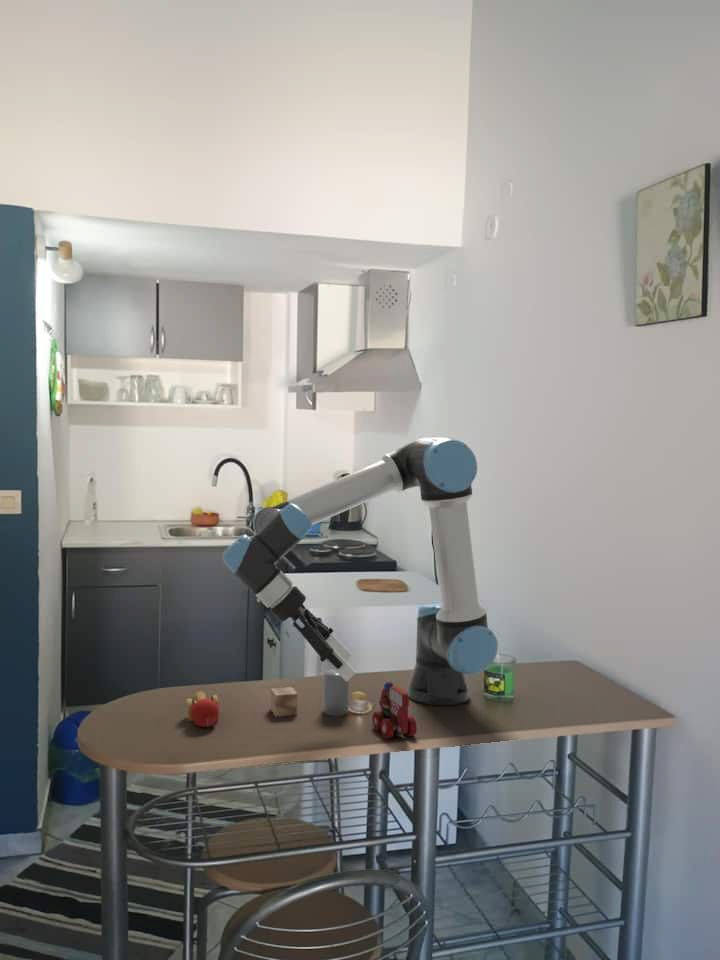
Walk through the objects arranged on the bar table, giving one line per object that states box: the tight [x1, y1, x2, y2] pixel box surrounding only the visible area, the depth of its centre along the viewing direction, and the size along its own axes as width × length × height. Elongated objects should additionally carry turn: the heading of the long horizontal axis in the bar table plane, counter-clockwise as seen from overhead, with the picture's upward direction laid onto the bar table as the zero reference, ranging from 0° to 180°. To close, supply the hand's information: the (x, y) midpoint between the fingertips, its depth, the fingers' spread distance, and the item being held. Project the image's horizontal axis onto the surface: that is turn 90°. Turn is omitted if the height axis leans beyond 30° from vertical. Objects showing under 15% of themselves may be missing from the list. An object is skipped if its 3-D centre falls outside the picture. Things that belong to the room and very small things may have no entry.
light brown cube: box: [269, 686, 298, 718], centre depth 192 cm, size 5×5×5 cm
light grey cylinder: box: [322, 668, 351, 717], centre depth 194 cm, size 6×6×9 cm
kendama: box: [185, 691, 221, 728], centre depth 187 cm, size 8×6×18 cm
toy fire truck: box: [371, 681, 418, 740], centre depth 182 cm, size 7×12×10 cm, turn 21°
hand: (349, 667), depth 180 cm, fingers open, 13 cm apart
